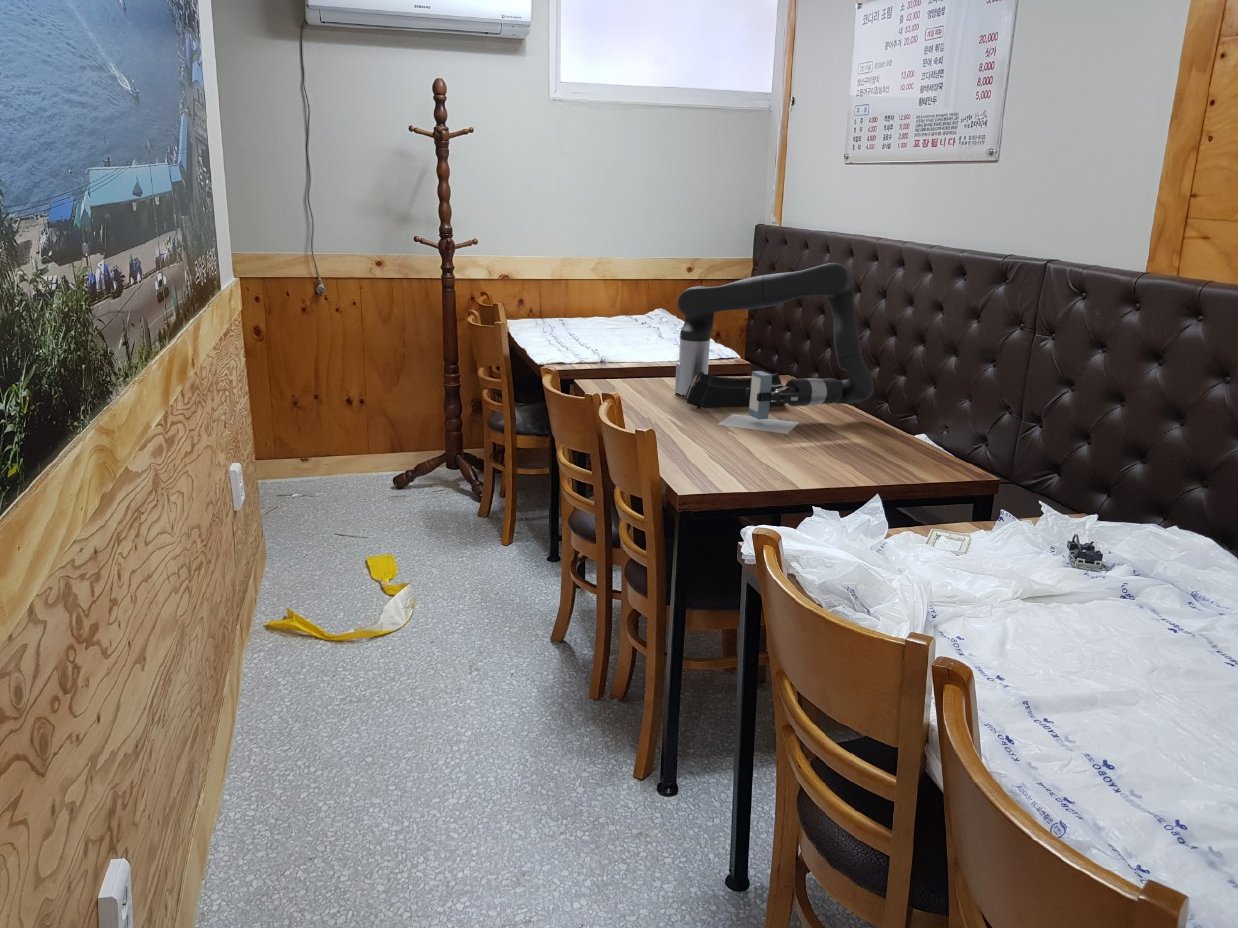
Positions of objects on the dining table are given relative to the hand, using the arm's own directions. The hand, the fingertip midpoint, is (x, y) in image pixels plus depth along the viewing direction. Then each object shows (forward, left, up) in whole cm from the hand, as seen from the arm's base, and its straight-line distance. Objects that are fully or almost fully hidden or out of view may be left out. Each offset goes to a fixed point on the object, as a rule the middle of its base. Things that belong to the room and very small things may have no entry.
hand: (752, 394), depth 238 cm
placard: (+2, +2, -6) cm, 7 cm away
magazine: (-10, +20, -9) cm, 24 cm away
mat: (+2, +2, -9) cm, 9 cm away
